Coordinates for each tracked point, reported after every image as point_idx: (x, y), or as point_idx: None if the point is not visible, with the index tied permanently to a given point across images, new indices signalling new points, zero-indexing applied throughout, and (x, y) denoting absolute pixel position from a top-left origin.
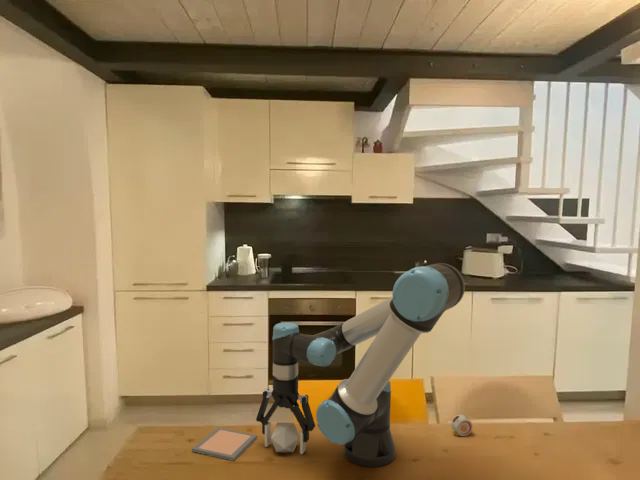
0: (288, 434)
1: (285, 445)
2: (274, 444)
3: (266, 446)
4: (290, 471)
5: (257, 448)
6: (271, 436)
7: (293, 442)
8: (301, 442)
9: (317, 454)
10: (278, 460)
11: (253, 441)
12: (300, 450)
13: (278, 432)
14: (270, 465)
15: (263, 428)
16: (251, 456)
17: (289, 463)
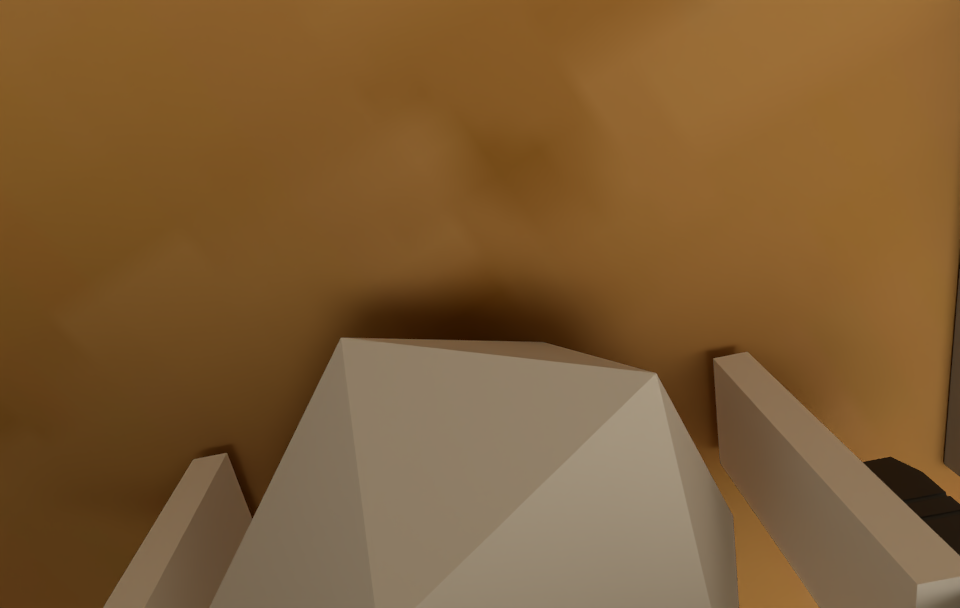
0: (313, 583)
1: (330, 383)
2: (565, 355)
3: (722, 358)
4: (46, 43)
5: (823, 286)
6: (665, 413)
7: (258, 511)
8: (140, 572)
9: (76, 557)
10: (392, 195)
11: (953, 385)
12: (207, 481)
13: (537, 527)
14: (407, 16)
15: (953, 528)
16: (800, 69)
17: (212, 215)
